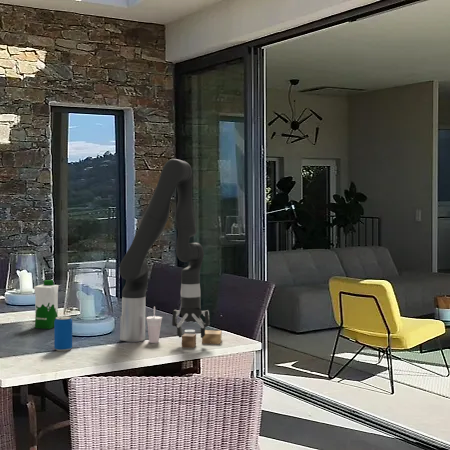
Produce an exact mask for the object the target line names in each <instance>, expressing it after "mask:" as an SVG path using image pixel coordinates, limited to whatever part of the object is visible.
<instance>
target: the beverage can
mask: <svg viewBox="0 0 450 450" xmlns="http://www.w3.org/2000/svg"><path fill="white" fill-rule="evenodd" d="M53 329H54V332H53V333H54V334H53V336H54V337H53V338H54V339H53V340H54V346H53V347H54V350H56V351H57V352H69V351H71V349H72V348H73V320H72V317H71V316H70V315H69V316H67V315H66V316H64V315H61V316H58V317H56V319H55V321H54V328H53Z"/></svg>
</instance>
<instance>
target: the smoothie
mask: <svg viewBox="0 0 450 450" xmlns="http://www.w3.org/2000/svg"><path fill="white" fill-rule="evenodd" d="M162 321H163V316H158V315H156V306H153V316H152V315H150V316H147V317H146V316H145V322H146V325H147V333H148V334H147V335H148V343H150V344H157V343H159V341H160V333H161V325H162Z"/></svg>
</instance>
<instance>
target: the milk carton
mask: <svg viewBox="0 0 450 450" xmlns="http://www.w3.org/2000/svg"><path fill="white" fill-rule="evenodd" d="M33 288H34V295H35V301H34V302H35V303H34V304H35V308H34V310H35V317H34V318H35V320H34V323H35V324H34V329H42V330H44V329H45V330H47V329H48V330H52V329H54V321H55V319H56V317H59V316H58V315H59V314H58V311H59V307H58V295H59V284H54V280H53V279H45V280H43V284H38V285H36V286H34V287H33Z"/></svg>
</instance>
